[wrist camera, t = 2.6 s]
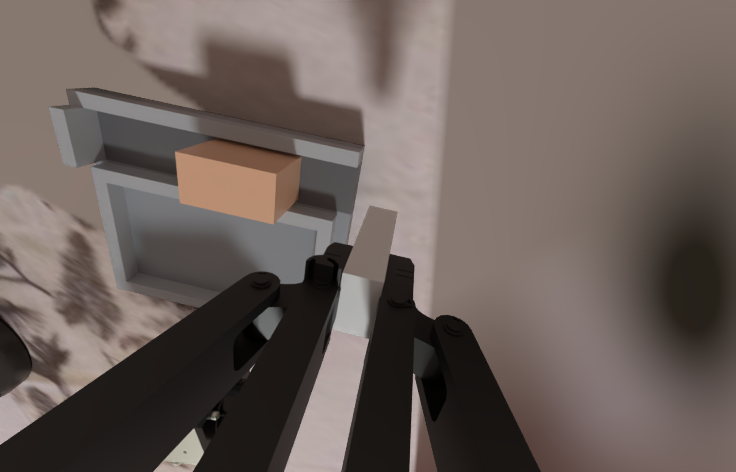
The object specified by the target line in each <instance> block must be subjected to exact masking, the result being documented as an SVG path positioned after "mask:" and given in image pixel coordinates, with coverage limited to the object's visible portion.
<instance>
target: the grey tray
mask: <svg viewBox="0 0 736 472" xmlns="http://www.w3.org/2000/svg"><path fill="white" fill-rule="evenodd" d="M66 92H67V96H68V100H69V105H63V106H50V107H49V110H50V114H51V118H52V121H53V125H54V129H55V133H56V137H57V141H58V145H59V149H60V152H61V156H62V160H63V164H64V165H68V166H73V167H81V166H84V165H88V164H92V163H96V165H95V166H91V171H92V175H93V180H94V184H95V189H96V193H97V198H98V202H99V207H100V212H101V216H102V221H103V225H104V230H105V234H106V239H107V243H108V248H109V252H110V257H111V262H112V266H113V271H114V275H115V280H116V284H117V288H119V289H123V290H127V291H131V292H135V293H139V294H143V295H147V296H152V297H156V298H160V299H164V300H168V301H172V302H176V303H181V304H185V305H189V306H193V307H197V308H200V307H201V306H202V305H204V304H205V303H207V302H208V301H210V300H211V299H213V298H214V297H216V296H217V295H218V294H220V293H221V292H223V291H224V290H226V289H227V288H229V287H230V286H231V285H233V284H234V283H236V282H237V281H239V280H240V279H242V278H243V277H245V276H246V275H248V274H250V273H253V272H258V271H264V272H270V273H273V274H275V275H276V276H278V277H279V279H280V284H297V283H301V282H303V280H304V274H305V265H306V260H307V259H308V258H309V257H312V256H314V255H323V254H324V252H325V250H326V248H327V247H328V246H329V245H331V244H332V243H334V242H338V243H342V244H346V245H347V244H348V238H349V233H350V227H351V221H352V215H353V210H354V204H355V198H356V193H357V187H358V181H359V175H360V170H361V164H362V158H363V152H364V147H365V146H362V145H358V144H353V143H348V142H344V141H339V140H335V139H330V138H325V137H321V136H316V135H311V134H307V133H302V132H298V131H293V130H288V129H284V128H279V127H274V126H270V125H265V124H261V123H256V122H251V121H247V120H242V119H237V118H233V117H228V116H224V115H219V114H214V113H210V112H205V111H200V110H196V109H191V108H186V107H182V106H177V105H172V104H168V103H163V102H159V101H154V100H149V99H145V98H140V97H136V96H131V95H126V94H121V93H117V92H112V91H107V90H103V89H99V88H76V89H66ZM216 138H220V139H225V140H230V141H234V142H239V143H243V144H248V145H252V146H257V147H262V148H266V149H271V150H275V151H280V152H284V153H289V154H293V155H298V156H302V159H301V171H300V182H299V194H298V200H297V201H296V202H295V203H294V204H293V205H292V206H291V207H290V208H289V209H288V210H287V211H286V212H285V213H284V214H283V215H282V216H281V217H280V219H279V220H278V221H277V222H276V223H275V224H269V223H265V222H261V221H256V220H252V219H247V218H243V217H239V216H234V215H230V214H226V213H221V212H217V211H212V210H208V209H204V208H199V207H195V206H191V205H186V204H182V203H180V199H179V189H178V178H177V167H176V157H175V151H178V150H182V149H185V148H188V147H191V146H194V145H197V144H201V143H204V142H207V141H210V140H213V139H216Z"/></svg>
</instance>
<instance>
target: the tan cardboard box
mask: <svg viewBox="0 0 736 472" xmlns="http://www.w3.org/2000/svg"><path fill="white" fill-rule="evenodd" d="M175 157H176V167H177V178H178V189H179V199H180V203H182V204H186V205H191V206H195V207H199V208H204V209H208V210H212V211H217V212H221V213H226V214H230V215H234V216H239V217H243V218H247V219H252V220H256V221H261V222H265V223H269V224H275V223H276V222H277V221H278V220H279V219H280V217H281V216H282V215H283V214H284V213H285V212H286V211H287V210H288V209H289V208H290V207H291V206H292V205H293V204H294V203H295V202H296V201H297V200H298V194H299V182H300V171H301V159H302V156H298V155H293V154H289V153H284V152H280V151H275V150H271V149H266V148H262V147H257V146H252V145H248V144H243V143H239V142H234V141H230V140H225V139H220V138H216V139H213V140H210V141H207V142H204V143H201V144H197V145H194V146H191V147H188V148H185V149H182V150H178V151H175Z"/></svg>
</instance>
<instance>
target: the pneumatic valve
mask: <svg viewBox="0 0 736 472" xmlns="http://www.w3.org/2000/svg"><path fill="white" fill-rule="evenodd" d="M249 374H250V371H248V372H247V373H246V374H245V375H244V376H243V377H242V378H241V379H240V380H239V381H238V382H237V383H236V384H235V385H234V386H233V388H232V389H231V390H230V391H229V392H228V393H227V394H226V395H225V396H224V397H223V398H222V399H221V400H220V401H219V402H218V403H217V404H216V405H215V407H214V408H213V409H212V410H211V411H210V412H209V413H208V414H207V415H206V416H205V417H204V418H203V419H202V420H201V421H200V422H199V423H198V425H197V426H196V427H195V428H194V429H193V430H192V431H191V432H190V433H189V434H188V435H187V436H186V437H185V438H184V439H183V440H182V441H181V442H180V444H179V445H178V446H177V447H176V448H175V449H174V450H173V451H172V452H171V453H170V454H169V455H168V456H167V457H166V458H165V459H164V460H163V462H162V463H164V462H166V461H171V462H172V465H174V466H179V465H181V464H182V463H186V464H193V465H197V464H198V462H199V460H200V459H201V457H202V455H203V453H204V452H205V450H206V448H207V446H208V445H209V443H210V441H211V440H212V438H213V436H214V434H215V433H216V431H217V429H218V427H219V426H220V424H221V422H222V420H223V419H224V417H225V415H226V414H227V412H228V410H229V408H230V407H231V405H232V403H233V401H234V400H235V398H236V396H237V394H238V393H239V391H240V389H241V388H242V386H243V384H244V382H245V381H246V379H247V377H248V375H249ZM162 463H161V464H162Z"/></svg>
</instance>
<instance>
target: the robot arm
mask: <svg viewBox="0 0 736 472" xmlns="http://www.w3.org/2000/svg"><path fill="white" fill-rule="evenodd" d="M396 217H397V212H396V211H391V210H387V209H382V208H378V207H374V206H370V207H369V209H368V212H367V214H366V216H365V219H364V221H363V224H362V226H361V229H360V231H359V234H358V236H357V239H356V241H355V243H354V246H351V245H346V244H342V243H338V242H334V243H332V244H331V245H329V246H328V247H327V248H326V250H325V252H324V254H323V255H314V256H312V257H309V258H308V259H307V260H306V265H305V274H304V280H303V282H301V283H297V284H280V279H279V277H278V276H276V275H275V274H273V273H270V272H264V271H258V272H253V273H250V274H248V275H246V276H245V277H243V278H242V279H240V280H239V281H237V282H236V283H234V284H233V285H231V286H230V287H229V288H227V289H226V290H224V291H223V292H221V293H220V294H218V295H217V296H216V297H214V298H213V299H211V300H210V301H208V302H207V303H205V304H204V305H202V306H201V307H200V308H198V309H197V310H195V311H194V312H192V313H191V314H189V315H188V316H187V317H185V318H184V319H182V320H181V321H179V322H178V323H176V324H175V325H173V326H172V327H171V328H169V329H168V330H166V331H165V332H163V333H162V334H160V335H159V336H158V337H156V338H155V339H153V340H152V341H150V342H149V343H147V344H146V345H144V346H143V347H142V348H140V349H139V350H137V351H136V352H134V353H133V354H131V355H130V356H129V357H127V358H126V359H124V360H123V361H121V362H120V363H118V364H117V365H116V366H114V367H113V368H111V369H110V370H108V371H107V372H105V373H104V374H102V375H101V376H100V377H98V378H97V379H95V380H94V381H92V382H91V383H89V384H88V385H87V386H85V387H84V388H82V389H81V390H79V391H78V392H76V393H75V394H73V395H72V396H71V397H69V398H68V399H66V400H65V401H63V402H62V403H60V404H59V405H58V406H56V407H55V408H53V409H52V410H50V411H49V412H47V413H46V414H44V415H43V416H42V417H40V418H39V419H37V420H36V421H34V422H33V423H31V424H30V425H29V426H27V427H26V428H24V429H23V430H21V431H20V432H18V433H17V434H15V435H14V436H13V437H11V438H10V439H8V440H7V441H5V442H4V443H2V444H1V445H0V472H153V471H154V470H155V469H156V468H157V467H158V466H159V465H160V464H161V463H162V462H163V460H164V459H165V458H166V457H167V456H168V455H169V454H170V453H171V452H172V451H173V450H174V449H175V448H176V447H177V446H178V445H179V444H180V442H181V441H182V440H183V439H184V438H185V437H186V436H187V435H188V434H189V433H190V432H191V431H192V430H193V429H194V428H195V427H196V426H197V425H198V423H199V422H200V421H201V420H202V419H203V418H204V417H205V416H206V415H207V414H208V413H209V412H210V411H211V410H212V409H213V408H214V407H215V405H216V404H217V403H218V402H219V401H220V400H221V399H222V398H223V397H224V396H225V395H226V394H227V393H228V392H229V391H230V390H231V389H232V388H233V386H234V385H235V384H236V383H237V382H238V381H239V380H240V379H241V378H242V377H243V376H244V375H245V374H246V373H247V372H248V371H249V370H250V368H251V367H252V366H253V365H254V364H255V365H254V367H253V368H252V370H251V372H250V374H249V375H248V377H247V379H246V381H245V382H244V384H243V386H242V388H241V389H240V391H239V393H238V394H237V396H236V398H235V400H234V401H233V403H232V405H231V407H230V408H229V410H228V412H227V414H226V415H225V417H224V419H223V420H222V422H221V424H220V426H219V427H218V429H217V431H216V433H215V434H214V436H213V438H212V440H211V441H210V443H209V445H208V446H207V448H206V450H205V452H204V453H203V455H202V457H201V459H200V460H199V462H198V464H197V466H196V467H195V469H194V471H193V472H284V470H285V467H286V464H287V461H288V458H289V456H290V453H291V450H292V447H293V444H294V441H295V438H296V436H297V433H298V430H299V427H300V424H301V421H302V418H303V415H304V413H305V410H306V407H307V404H308V401H309V398H310V395H311V392H312V390H313V387H314V384H315V381H316V378H317V375H318V372H319V369H320V367H321V364H322V361H323V358H324V355H325V352H326V349H327V346H328V344H329V341H330V336H331V330H332V327H333V330H336V331H340V332H344V333H348V334H352V335H356V336H360V337H364V338H368V339H369V343H368V347H367V351H366V355H365V359H364V366H363V370H362V375H361V380H360V385H359V390H358V394H357V399H356V404H355V409H354V413H353V418H352V423H351V428H350V433H349V437H348V442H347V447H346V452H345V456H344V461H343V466H342V471H341V472H409V464H410V438H411V412H412V386H413V373H414V374H415V380H416V384H417V388H418V393H419V397H420V401H421V405H422V409H423V413H424V417H425V422H426V426H427V430H428V434H429V438H430V442H431V447H432V451H433V455H434V459H435V463H436V467H437V471H438V472H541V471H540V469H539V467H538V465H537V463H536V461H535V459H534V457H533V455H532V453H531V451H530V449H529V447H528V445H527V443H526V441H525V439H524V437H523V434H522V433H521V430H520V428H519V426H518V425H517V422H516V420H515V418H514V416H513V414H512V412H511V410H510V408H509V406H508V404H507V402H506V400H505V398H504V396H503V394H502V392H501V389H500V388H499V386H498V383H497V381H496V379H495V377H494V375H493V373H492V371H491V369H490V367H489V365H488V363H487V361H486V359H485V357H484V355H483V353H482V351H481V349H480V347H479V345H478V342H477V340H476V338H475V337H474V334H473V332H472V330H471V329H470V328H469V326H468V325H467V324H466V323H465V322H464V321H462V320H461V319H459V318H457V317H454V316H450V315H441V316H439V317H437V318H436V319H435V320H433V319H431V318H429V317H427V316H425V315H424V314H422V313H421V312H420V311H419V310H418V309H417V308H416V306H415V302H414V300H413V286H414V264H413V263H412V261H411V259H409V258H405V257H401V256H396V255H392V254H390V249H391V244H392V239H393V233H394V228H395V223H396ZM30 372H31V362H30V358H29V356H28V354H27V351H26V350H25V348H24V346H23V345H22V343H21V342H20V341H19V339H18V338H17V337H16V336H15V335H14V333H13V332H12V331H11V330H10V329H9V328H8V327H7V326H6V325H4V324H3V323H2V322H1V321H0V397H2V396H4V395H6V394H7V393H9V392H10V391H12V390H13V389H14V388H16V387H17V386H18V385H19V384H21V383H22V382H23V381H25V380H26V379H27V378H28V377H29V375H30Z"/></svg>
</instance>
